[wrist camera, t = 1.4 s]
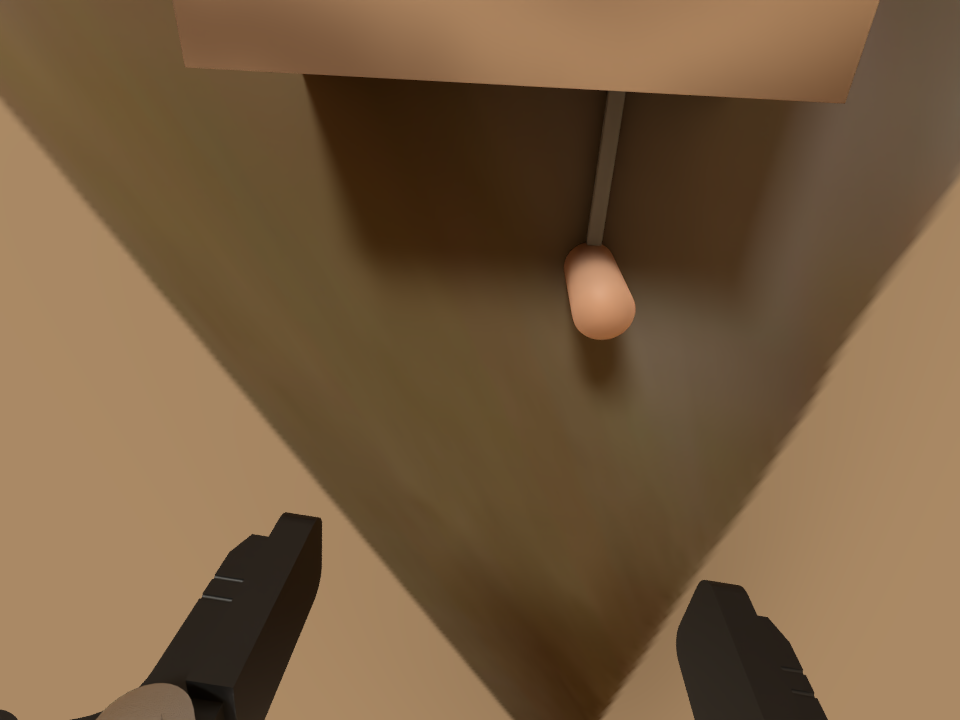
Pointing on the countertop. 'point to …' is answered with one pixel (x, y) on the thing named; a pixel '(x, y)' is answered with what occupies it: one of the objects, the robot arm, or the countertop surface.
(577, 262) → the tethered block
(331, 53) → the walnut shelf
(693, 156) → the countertop surface
